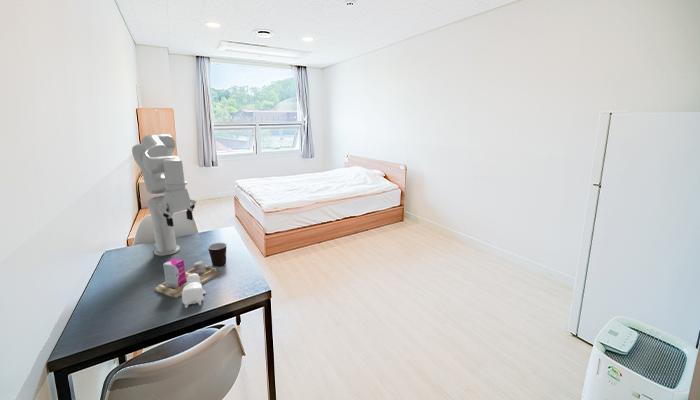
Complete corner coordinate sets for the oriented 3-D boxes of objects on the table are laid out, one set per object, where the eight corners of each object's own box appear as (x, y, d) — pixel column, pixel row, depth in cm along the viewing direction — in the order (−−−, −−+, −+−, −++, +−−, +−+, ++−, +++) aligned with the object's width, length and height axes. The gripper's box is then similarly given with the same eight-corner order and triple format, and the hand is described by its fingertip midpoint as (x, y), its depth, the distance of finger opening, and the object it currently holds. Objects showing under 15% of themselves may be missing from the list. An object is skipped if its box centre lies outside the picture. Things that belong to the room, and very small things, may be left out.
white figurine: (206, 309, 131) (205, 280, 142) (203, 296, 126) (203, 268, 137) (182, 313, 127) (184, 284, 138) (179, 300, 123) (181, 271, 134)
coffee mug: (222, 268, 158) (219, 250, 155) (206, 267, 159) (204, 248, 157) (234, 258, 169) (233, 241, 166) (220, 257, 170) (218, 239, 168)
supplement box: (177, 289, 137) (173, 265, 134) (166, 287, 138) (162, 264, 135) (187, 282, 142) (183, 259, 139) (176, 281, 144) (172, 258, 140)
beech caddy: (154, 290, 138) (152, 277, 137) (199, 268, 158) (198, 256, 157) (176, 298, 132) (174, 285, 131) (219, 274, 152) (218, 262, 151)
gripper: (187, 181, 150) (191, 215, 155) (151, 189, 135) (157, 227, 140) (198, 183, 147) (202, 218, 152) (162, 192, 132) (167, 230, 137)
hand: (180, 222), depth 146 cm, fingers open, 9 cm apart
